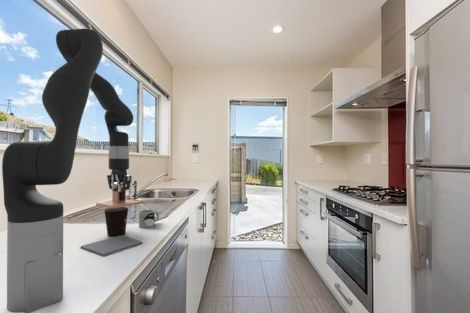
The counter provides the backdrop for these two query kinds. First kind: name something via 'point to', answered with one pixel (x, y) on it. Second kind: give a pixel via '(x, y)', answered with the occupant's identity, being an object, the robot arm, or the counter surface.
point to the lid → (117, 201)
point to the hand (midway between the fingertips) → (119, 200)
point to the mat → (111, 245)
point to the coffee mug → (116, 221)
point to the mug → (147, 218)
